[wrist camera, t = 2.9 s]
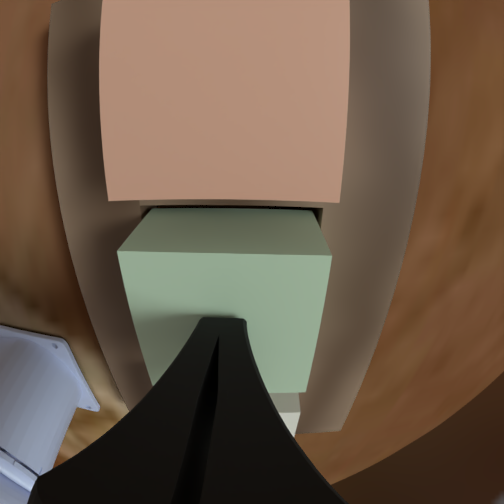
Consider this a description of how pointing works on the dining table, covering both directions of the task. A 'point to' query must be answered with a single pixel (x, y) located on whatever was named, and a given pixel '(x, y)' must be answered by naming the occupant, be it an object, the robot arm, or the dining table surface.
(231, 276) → the sage button
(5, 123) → the dining table surface
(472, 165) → the dining table surface
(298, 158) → the terracotta button
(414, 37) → the brown tray
